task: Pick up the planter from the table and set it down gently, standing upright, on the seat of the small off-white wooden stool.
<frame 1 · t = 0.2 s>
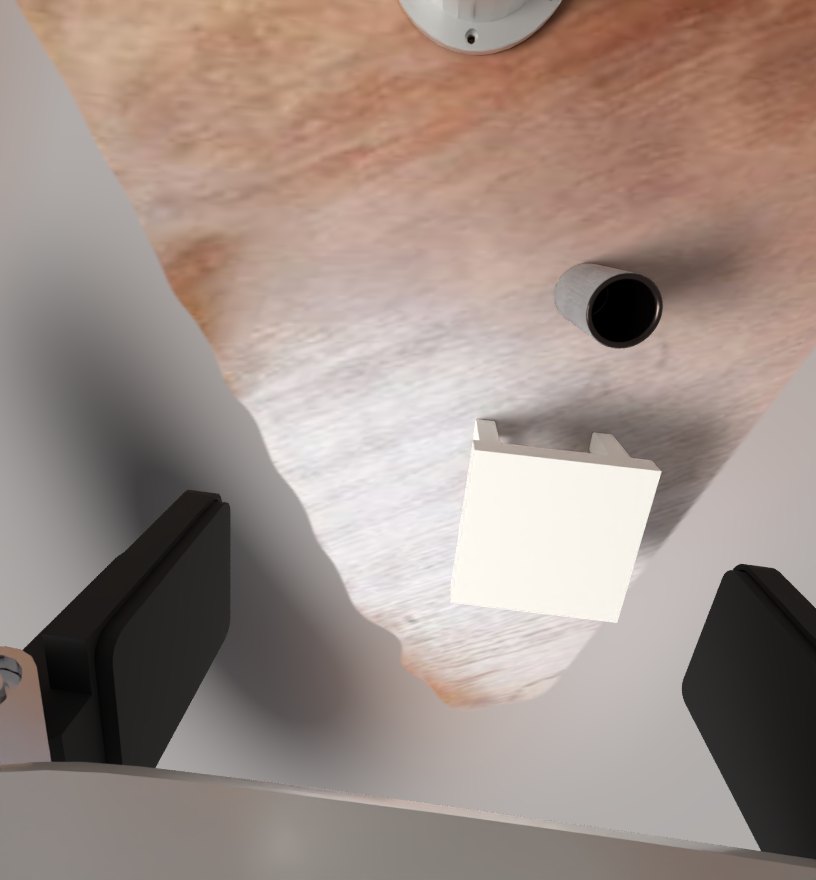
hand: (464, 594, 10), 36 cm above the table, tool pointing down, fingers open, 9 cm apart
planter: (582, 293, 43), on the table
stool: (531, 487, 49), on the table
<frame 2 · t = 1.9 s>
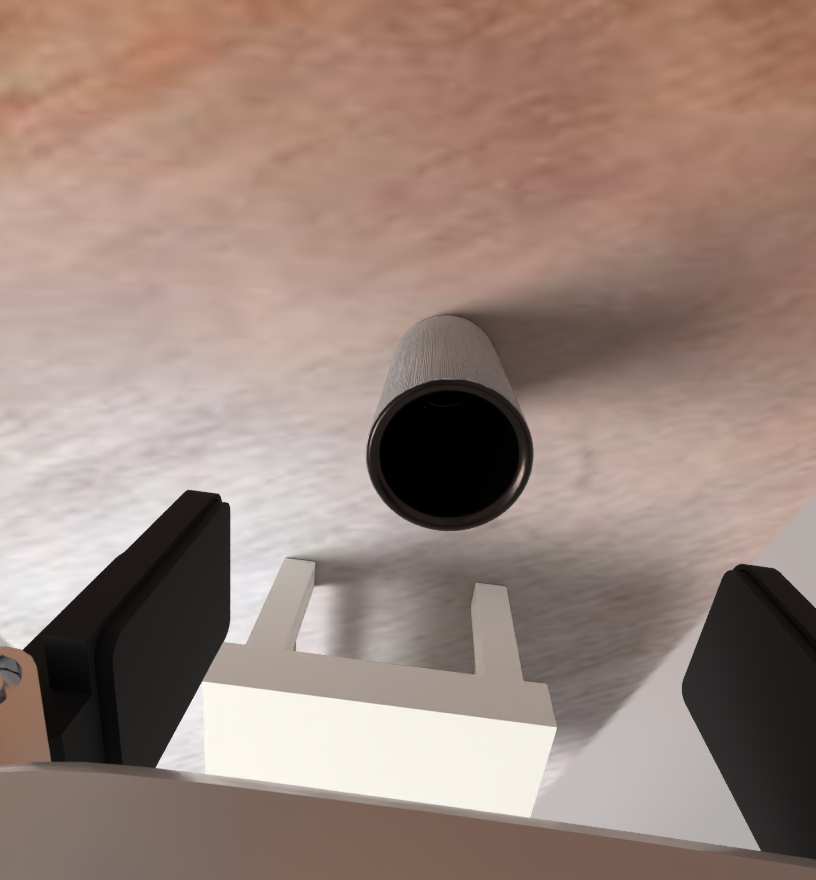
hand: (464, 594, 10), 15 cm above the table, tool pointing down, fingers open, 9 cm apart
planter: (444, 364, 24), on the table
stool: (384, 657, 31), on the table
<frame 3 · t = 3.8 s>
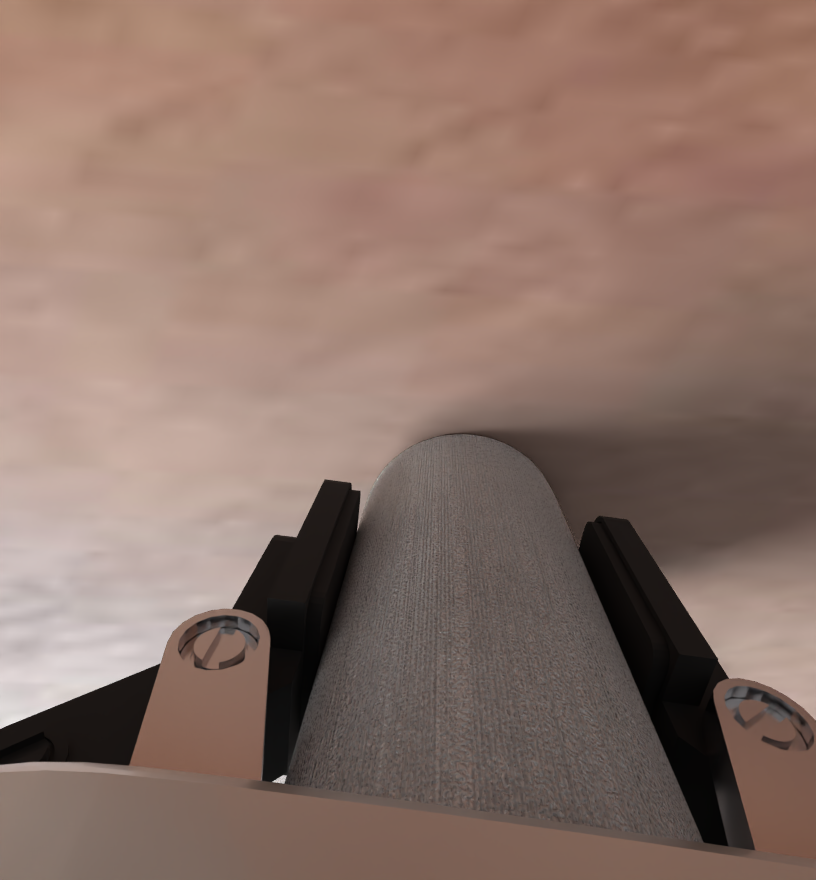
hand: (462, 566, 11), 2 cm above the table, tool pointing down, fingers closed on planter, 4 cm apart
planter: (459, 517, 13), on the table, touching gripper
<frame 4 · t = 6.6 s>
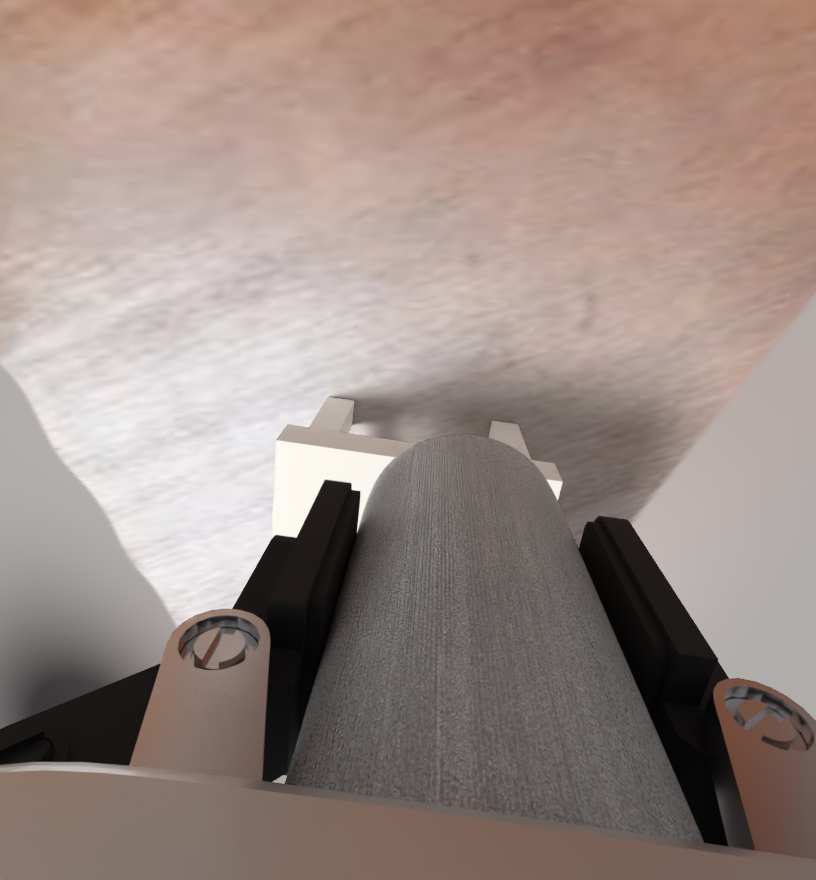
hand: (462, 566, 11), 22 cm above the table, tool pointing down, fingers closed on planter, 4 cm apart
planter: (459, 517, 13), point 20 cm above the table, touching gripper
stool: (410, 494, 35), on the table
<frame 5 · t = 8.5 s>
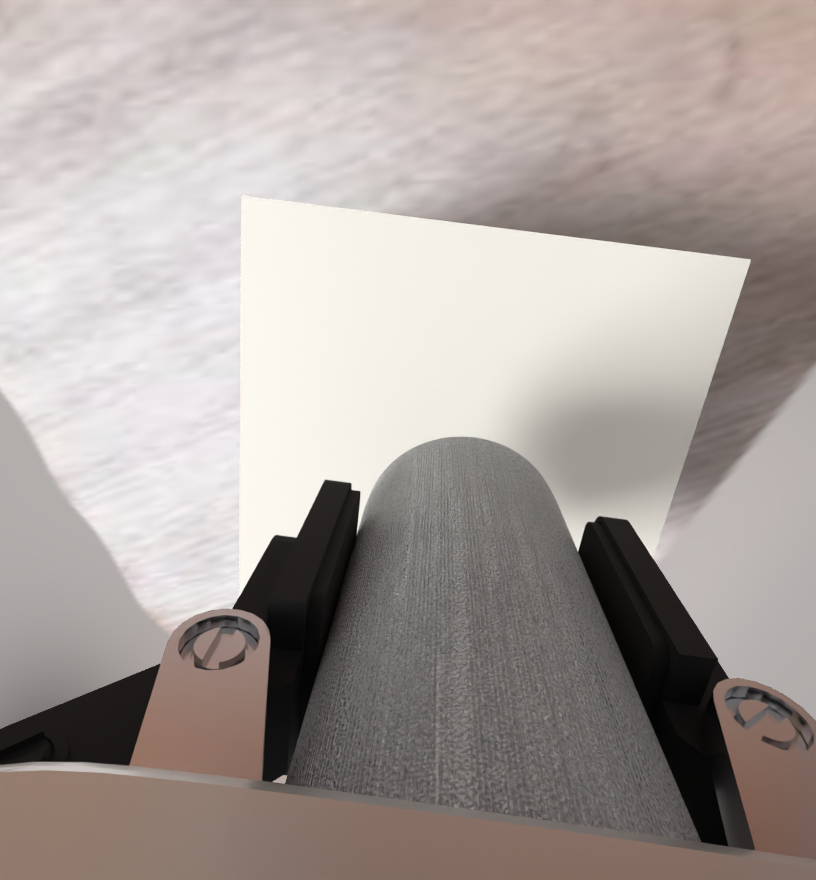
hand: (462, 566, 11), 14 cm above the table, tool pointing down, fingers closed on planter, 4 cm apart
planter: (459, 519, 13), point 12 cm above the table, touching gripper
stool: (451, 382, 25), on the table
when the fingers open (12 cm above the table, at t = 9.7 s): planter drops 1 cm, resting on stool.
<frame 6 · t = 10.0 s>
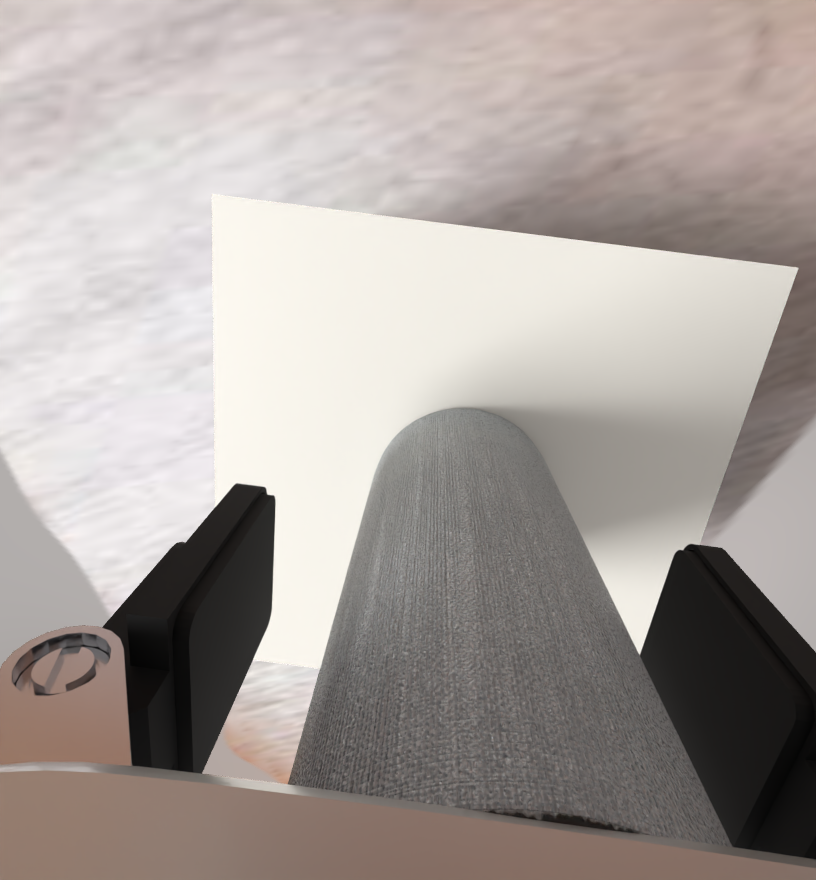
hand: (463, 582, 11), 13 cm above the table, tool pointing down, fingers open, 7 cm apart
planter: (459, 486, 14), point 9 cm above the table, touching stool
stool: (452, 398, 23), on the table
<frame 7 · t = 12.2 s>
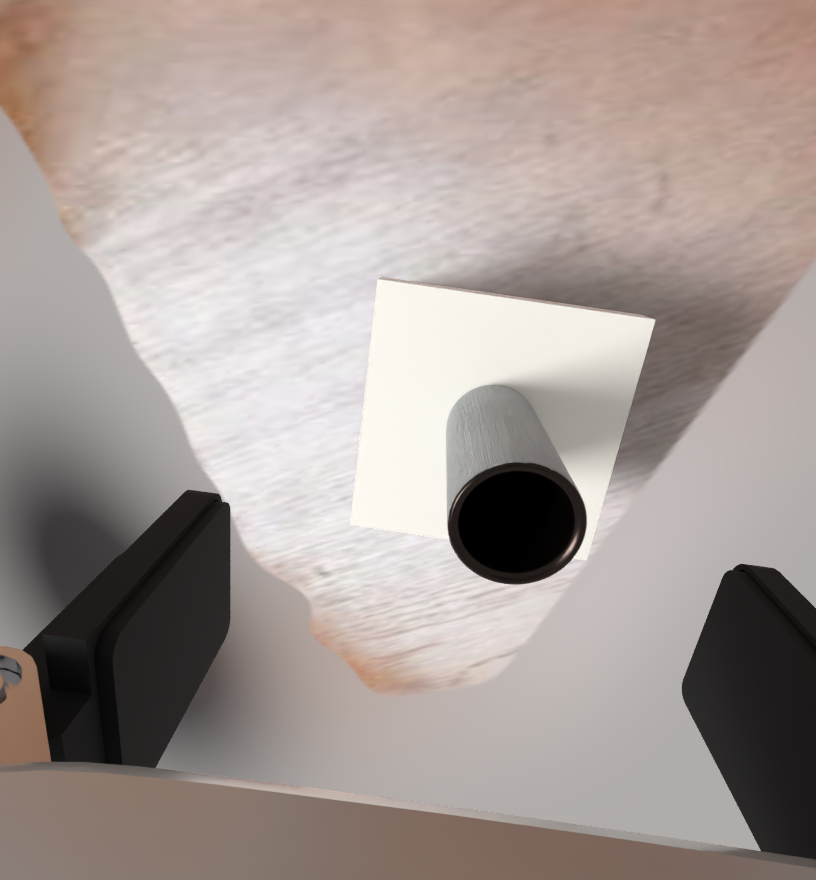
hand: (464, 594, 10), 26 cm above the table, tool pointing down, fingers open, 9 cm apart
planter: (490, 426, 28), point 9 cm above the table, touching stool
stool: (479, 387, 36), on the table
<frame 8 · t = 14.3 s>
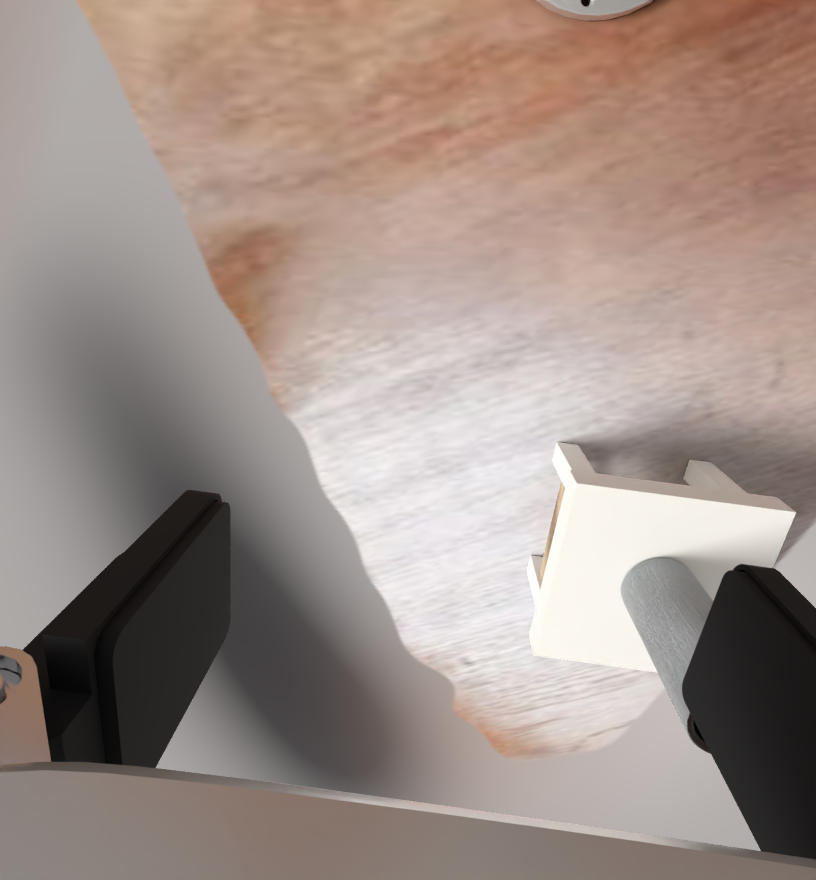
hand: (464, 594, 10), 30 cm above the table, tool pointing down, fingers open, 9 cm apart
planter: (655, 585, 35), point 9 cm above the table, touching stool
stool: (614, 519, 43), on the table
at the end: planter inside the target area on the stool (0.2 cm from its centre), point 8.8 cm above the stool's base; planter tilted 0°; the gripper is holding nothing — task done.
